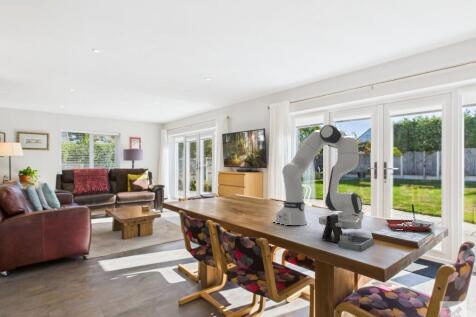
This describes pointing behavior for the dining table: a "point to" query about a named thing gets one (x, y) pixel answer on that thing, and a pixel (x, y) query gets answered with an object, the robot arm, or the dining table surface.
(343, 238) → the grey cube
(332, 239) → the black a-shaped stand
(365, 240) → the tray
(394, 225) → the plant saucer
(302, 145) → the robot arm
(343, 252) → the dining table surface
